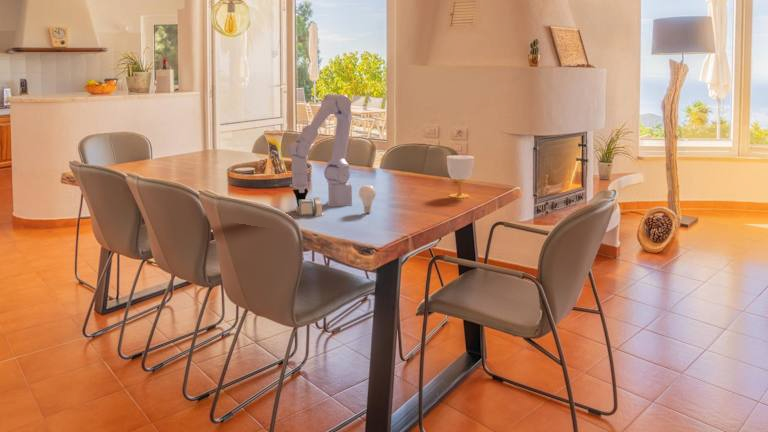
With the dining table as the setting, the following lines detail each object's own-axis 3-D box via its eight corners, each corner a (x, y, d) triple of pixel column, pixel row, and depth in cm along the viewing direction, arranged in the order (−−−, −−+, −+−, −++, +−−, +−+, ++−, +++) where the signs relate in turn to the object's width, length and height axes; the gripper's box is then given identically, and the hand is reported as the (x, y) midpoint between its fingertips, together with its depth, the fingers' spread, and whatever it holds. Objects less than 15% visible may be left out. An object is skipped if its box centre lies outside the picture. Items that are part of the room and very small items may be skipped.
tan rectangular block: (320, 210, 248) (320, 197, 247) (323, 216, 237) (323, 203, 236) (312, 210, 248) (312, 197, 247) (315, 216, 237) (315, 203, 236)
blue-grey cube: (312, 211, 243) (311, 198, 241) (313, 214, 238) (312, 201, 237) (298, 212, 242) (298, 199, 240) (299, 215, 237) (299, 201, 236)
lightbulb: (362, 215, 238) (362, 187, 236) (356, 212, 244) (356, 184, 242) (378, 214, 241) (378, 185, 238) (372, 211, 246) (371, 183, 244)
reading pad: (311, 213, 243) (311, 211, 243) (312, 216, 237) (312, 215, 237) (298, 213, 242) (298, 212, 242) (299, 217, 236) (299, 215, 236)
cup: (443, 193, 280) (444, 155, 276) (469, 193, 282) (470, 155, 278) (448, 199, 269) (449, 159, 265) (476, 198, 270) (477, 158, 266)
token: (308, 210, 246) (308, 205, 245) (304, 213, 242) (304, 208, 241) (298, 210, 247) (298, 205, 246) (294, 212, 243) (294, 207, 242)
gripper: (288, 170, 250) (289, 204, 253) (290, 176, 236) (291, 212, 239) (306, 170, 251) (307, 203, 254) (309, 175, 237) (310, 211, 241)
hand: (300, 207), depth 247 cm, fingers closed
